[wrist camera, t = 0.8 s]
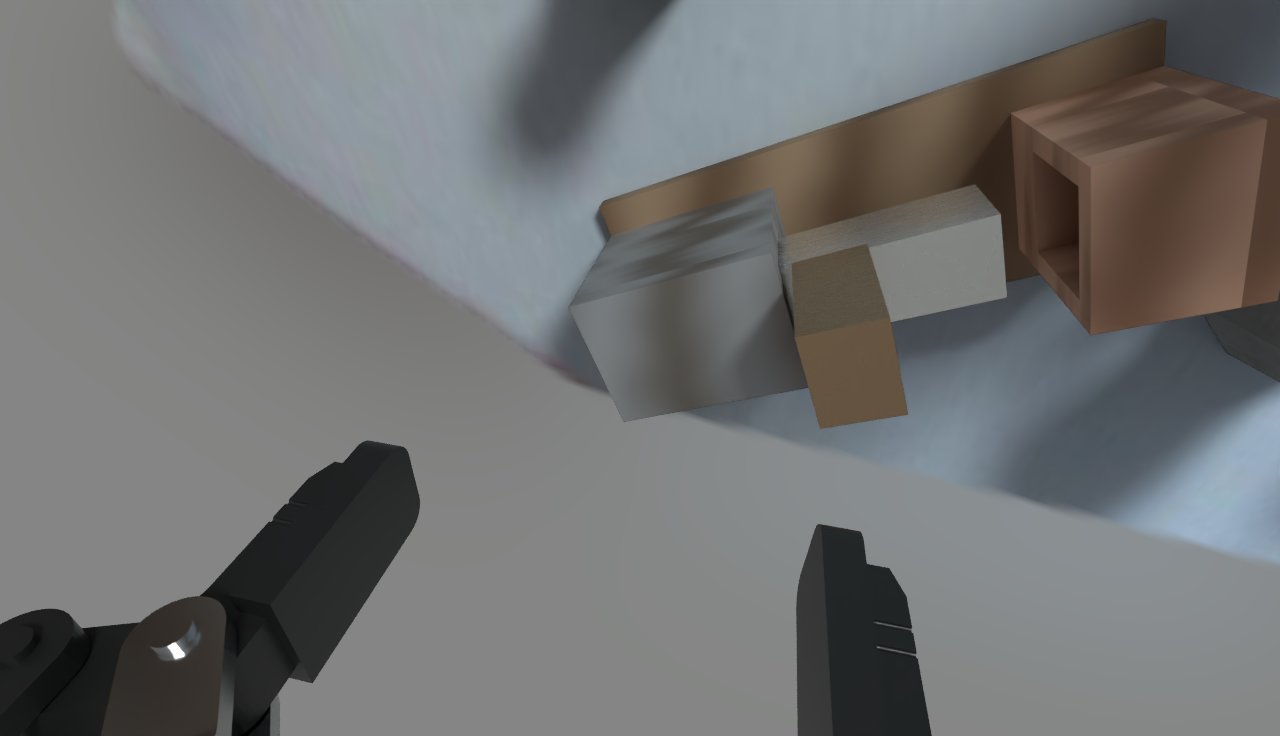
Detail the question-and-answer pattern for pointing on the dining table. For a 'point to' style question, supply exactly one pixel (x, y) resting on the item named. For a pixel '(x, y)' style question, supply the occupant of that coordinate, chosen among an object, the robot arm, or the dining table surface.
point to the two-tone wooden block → (884, 293)
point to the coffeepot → (1251, 335)
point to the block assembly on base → (937, 163)
